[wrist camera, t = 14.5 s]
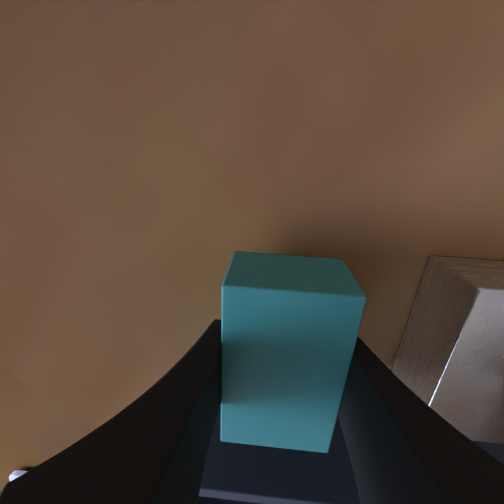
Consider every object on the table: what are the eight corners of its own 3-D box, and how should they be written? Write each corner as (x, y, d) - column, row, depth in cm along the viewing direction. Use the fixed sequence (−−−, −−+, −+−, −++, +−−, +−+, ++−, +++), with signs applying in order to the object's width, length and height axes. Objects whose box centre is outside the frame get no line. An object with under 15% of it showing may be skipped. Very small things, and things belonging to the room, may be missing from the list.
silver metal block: (387, 379, 13) (416, 435, 11) (428, 254, 11) (479, 287, 8) (471, 387, 13) (521, 446, 10) (534, 262, 10) (621, 299, 8)
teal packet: (230, 382, 13) (220, 442, 10) (234, 250, 10) (221, 284, 7) (316, 390, 12) (328, 454, 10) (343, 258, 10) (368, 297, 7)
